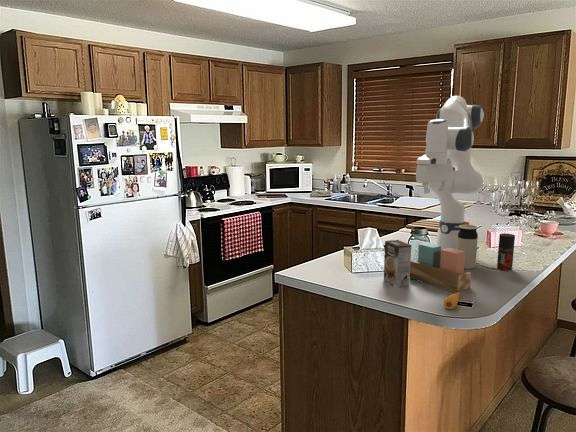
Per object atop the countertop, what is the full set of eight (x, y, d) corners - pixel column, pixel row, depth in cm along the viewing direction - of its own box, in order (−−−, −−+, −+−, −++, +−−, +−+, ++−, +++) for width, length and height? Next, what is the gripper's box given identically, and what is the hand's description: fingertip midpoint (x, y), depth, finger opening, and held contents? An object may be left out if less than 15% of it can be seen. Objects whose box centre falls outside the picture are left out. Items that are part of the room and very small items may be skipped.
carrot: (451, 313, 156) (458, 302, 154) (439, 306, 158) (445, 295, 156) (462, 300, 173) (468, 289, 172) (451, 293, 175) (457, 283, 173)
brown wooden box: (422, 273, 195) (423, 257, 194) (469, 287, 178) (471, 270, 176) (408, 277, 190) (409, 260, 189) (455, 292, 172) (456, 274, 171)
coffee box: (382, 279, 187) (384, 240, 184) (396, 277, 190) (397, 239, 187) (396, 286, 179) (397, 246, 176) (410, 284, 181) (411, 244, 178)
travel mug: (473, 270, 199) (476, 229, 195) (454, 267, 202) (457, 227, 199) (476, 265, 205) (479, 225, 202) (457, 263, 209) (460, 223, 206)
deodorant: (496, 270, 199) (499, 235, 196) (497, 266, 204) (499, 232, 201) (511, 271, 196) (515, 237, 193) (512, 268, 201) (515, 234, 199)
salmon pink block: (446, 276, 184) (447, 247, 182) (463, 281, 178) (465, 251, 176) (438, 279, 181) (439, 249, 179) (455, 284, 175) (457, 253, 173)
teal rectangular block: (425, 270, 192) (426, 242, 190) (440, 275, 186) (442, 246, 184) (417, 272, 189) (418, 244, 187) (432, 277, 183) (434, 248, 181)
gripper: (445, 157, 202) (443, 189, 204) (413, 159, 190) (412, 193, 193) (457, 158, 197) (455, 190, 199) (426, 160, 185) (424, 195, 188)
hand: (434, 192), depth 196 cm, fingers open, 8 cm apart
